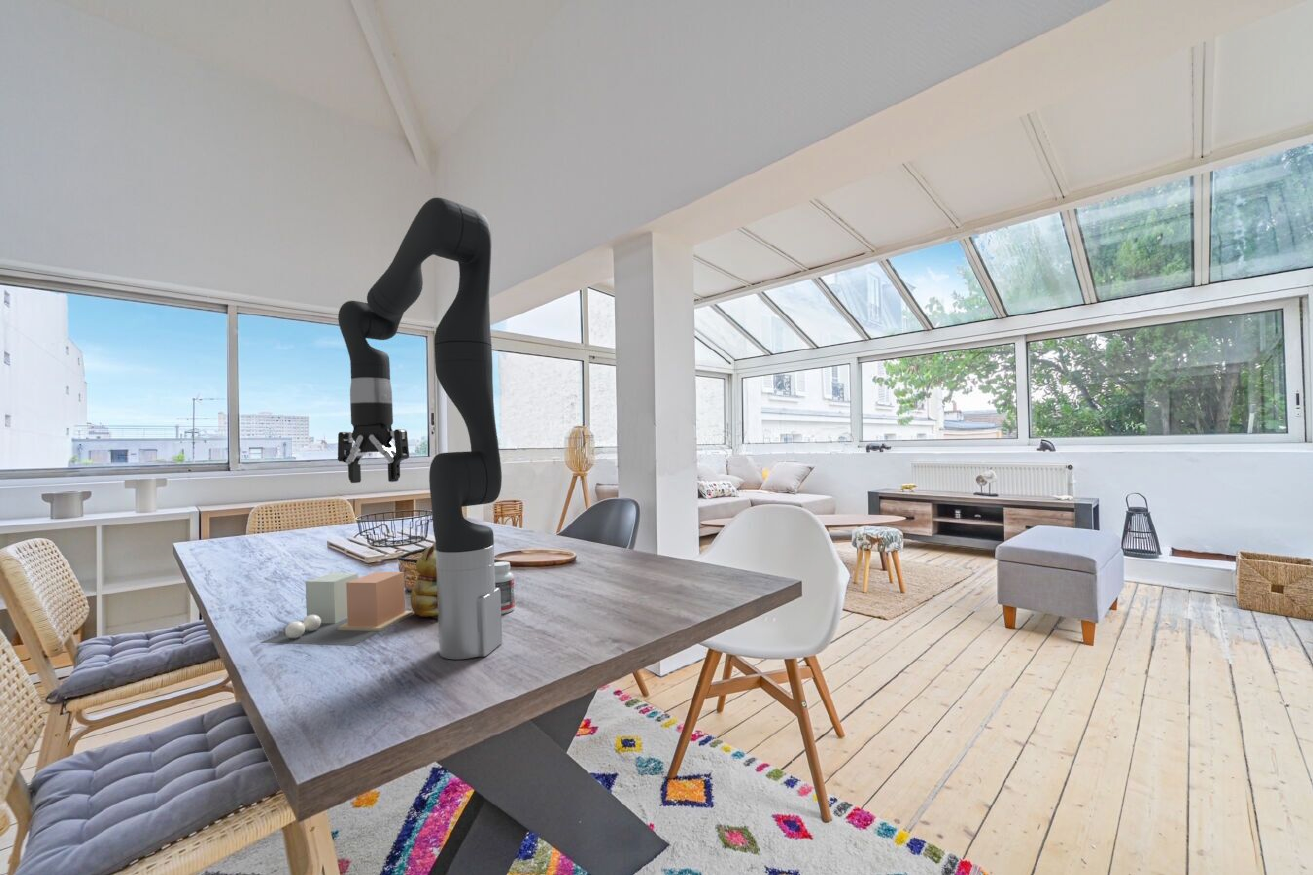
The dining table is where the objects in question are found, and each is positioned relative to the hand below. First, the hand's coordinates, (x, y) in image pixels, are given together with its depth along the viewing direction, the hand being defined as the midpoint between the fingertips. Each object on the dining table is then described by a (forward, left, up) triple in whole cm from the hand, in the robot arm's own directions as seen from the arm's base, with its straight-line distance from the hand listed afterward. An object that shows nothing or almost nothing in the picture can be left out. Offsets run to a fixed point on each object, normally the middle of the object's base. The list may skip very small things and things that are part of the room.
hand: (374, 482), depth 108 cm
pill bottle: (-23, -7, -28) cm, 37 cm away
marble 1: (+8, +12, -27) cm, 31 cm away
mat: (+3, +6, -28) cm, 28 cm away
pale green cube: (+10, +1, -27) cm, 29 cm away
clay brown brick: (-1, +2, -27) cm, 27 cm away
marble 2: (+8, +8, -27) cm, 30 cm away
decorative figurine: (-10, -3, -28) cm, 30 cm away
